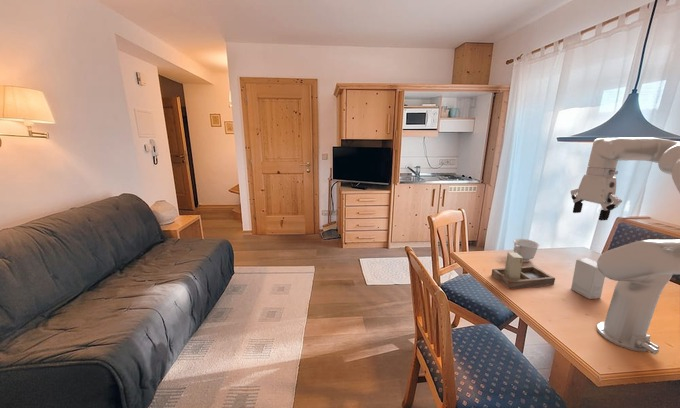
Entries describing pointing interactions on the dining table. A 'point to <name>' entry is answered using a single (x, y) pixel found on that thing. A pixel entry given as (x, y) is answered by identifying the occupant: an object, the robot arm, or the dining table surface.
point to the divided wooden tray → (525, 277)
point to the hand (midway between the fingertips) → (589, 216)
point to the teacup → (525, 248)
